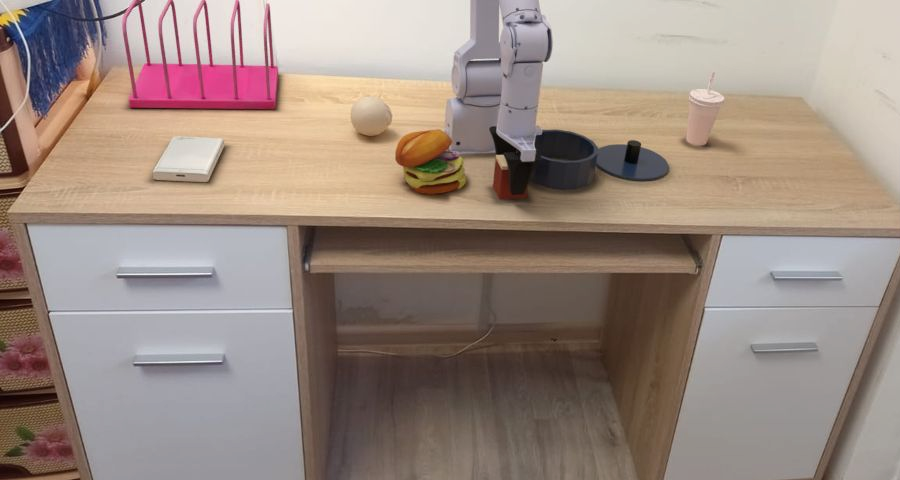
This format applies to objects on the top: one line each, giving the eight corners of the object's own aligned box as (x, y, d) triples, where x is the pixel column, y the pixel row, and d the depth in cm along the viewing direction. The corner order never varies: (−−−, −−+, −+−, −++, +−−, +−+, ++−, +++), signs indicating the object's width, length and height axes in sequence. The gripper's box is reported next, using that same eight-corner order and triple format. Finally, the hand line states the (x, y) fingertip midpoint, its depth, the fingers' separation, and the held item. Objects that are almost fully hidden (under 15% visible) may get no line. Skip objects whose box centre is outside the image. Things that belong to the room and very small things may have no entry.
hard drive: (172, 135, 137) (151, 170, 126) (223, 138, 137) (207, 172, 127) (174, 144, 137) (153, 180, 127) (224, 147, 138) (208, 182, 128)
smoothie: (716, 141, 158) (734, 71, 151) (708, 154, 153) (726, 82, 146) (683, 133, 160) (699, 63, 152) (674, 145, 155) (691, 73, 148)
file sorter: (145, 72, 161) (132, -10, 152) (278, 74, 166) (273, -5, 158) (129, 108, 147) (114, 21, 138) (275, 110, 152) (270, 25, 143)
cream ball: (394, 141, 146) (395, 105, 142) (352, 142, 144) (352, 106, 140) (389, 125, 151) (390, 90, 147) (348, 126, 149) (348, 90, 146)
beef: (498, 201, 131) (502, 166, 128) (492, 189, 135) (495, 154, 131) (526, 200, 133) (530, 165, 129) (519, 188, 136) (523, 153, 132)
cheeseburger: (459, 203, 129) (447, 144, 124) (395, 205, 132) (381, 148, 127) (474, 173, 138) (463, 117, 132) (413, 176, 140) (400, 122, 135)
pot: (532, 194, 134) (536, 163, 131) (511, 159, 144) (515, 130, 141) (603, 190, 138) (608, 161, 134) (578, 157, 147) (583, 128, 144)
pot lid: (608, 185, 139) (612, 161, 137) (582, 150, 150) (586, 127, 147) (679, 182, 143) (685, 159, 140) (649, 148, 153) (654, 126, 151)
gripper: (559, 121, 120) (547, 203, 128) (531, 83, 131) (522, 160, 139) (512, 122, 118) (503, 205, 126) (488, 83, 130) (481, 161, 137)
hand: (510, 181), depth 132 cm, fingers open, 7 cm apart
